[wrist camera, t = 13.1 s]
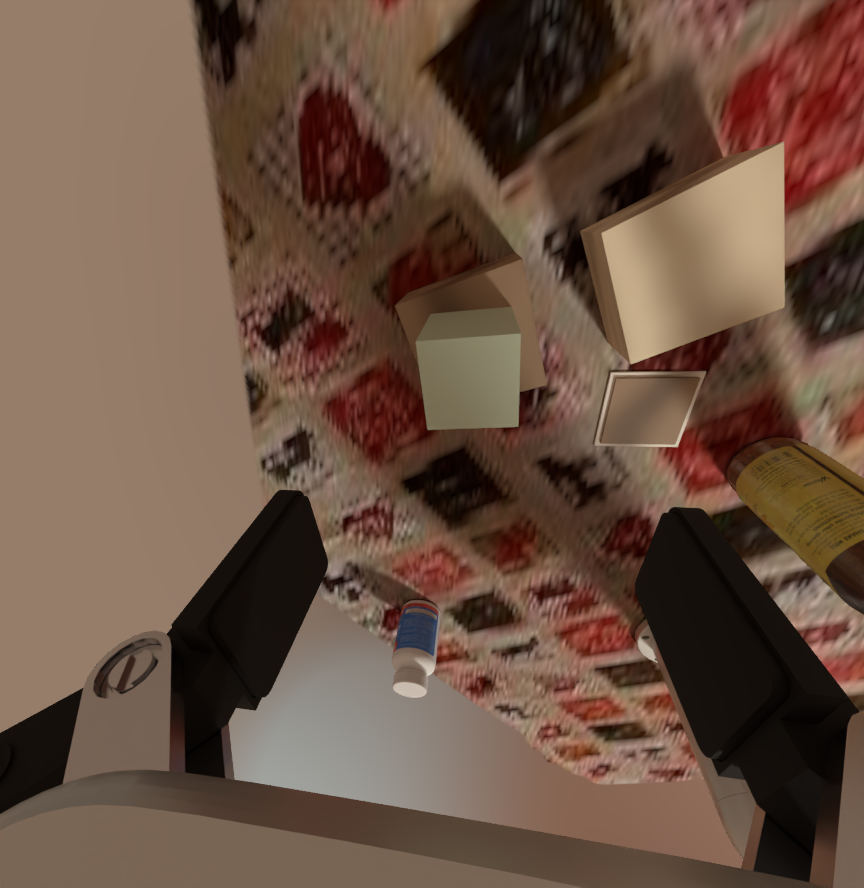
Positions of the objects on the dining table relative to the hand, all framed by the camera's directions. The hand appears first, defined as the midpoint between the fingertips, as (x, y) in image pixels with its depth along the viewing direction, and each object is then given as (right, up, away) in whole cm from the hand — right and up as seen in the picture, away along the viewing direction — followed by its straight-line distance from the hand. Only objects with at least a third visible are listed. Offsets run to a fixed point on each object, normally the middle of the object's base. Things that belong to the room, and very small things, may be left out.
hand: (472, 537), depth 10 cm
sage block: (+2, +9, +13) cm, 16 cm away
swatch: (+16, +5, +19) cm, 26 cm away
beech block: (+14, +15, +14) cm, 24 cm away
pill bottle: (-3, -20, +39) cm, 44 cm away
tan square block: (+2, +12, +17) cm, 21 cm away
